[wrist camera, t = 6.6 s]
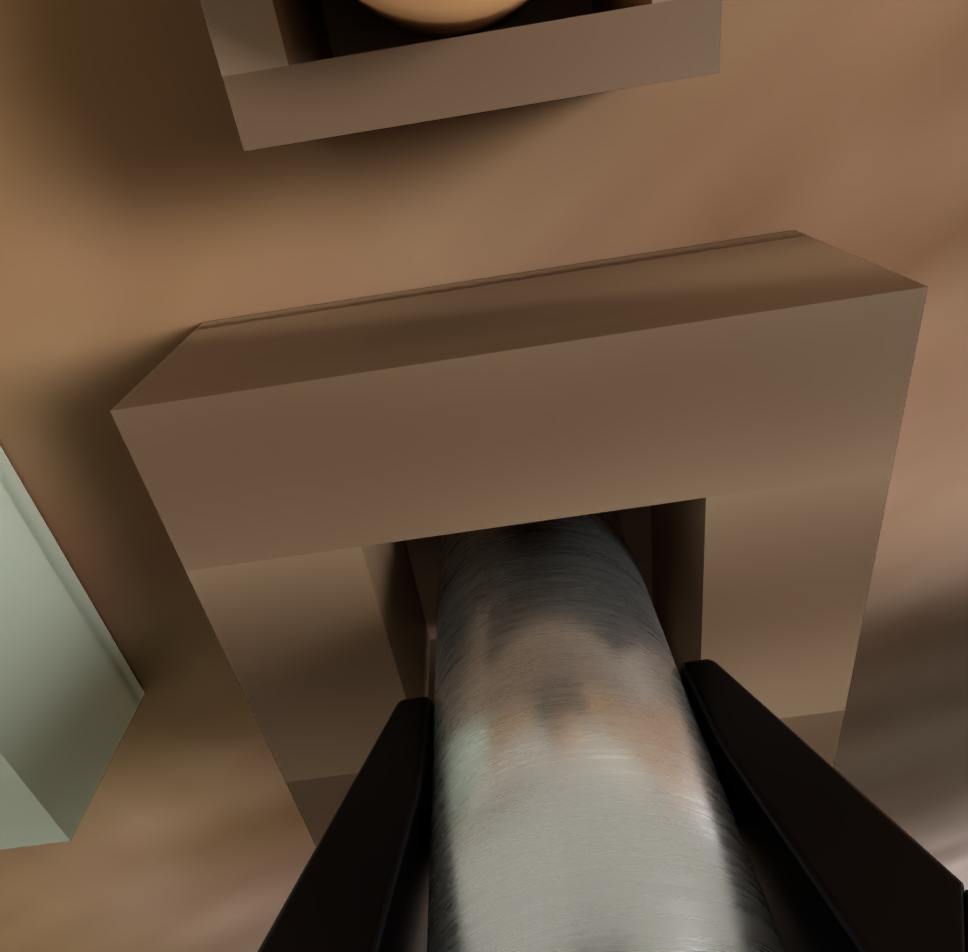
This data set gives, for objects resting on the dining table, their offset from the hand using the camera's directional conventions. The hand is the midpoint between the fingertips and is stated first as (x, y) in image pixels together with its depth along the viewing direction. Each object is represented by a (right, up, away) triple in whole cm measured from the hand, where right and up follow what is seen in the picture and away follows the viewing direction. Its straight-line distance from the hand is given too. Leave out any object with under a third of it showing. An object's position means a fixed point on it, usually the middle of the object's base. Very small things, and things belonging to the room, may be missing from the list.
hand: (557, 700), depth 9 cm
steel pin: (0, +2, +3) cm, 4 cm away
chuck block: (0, +2, +4) cm, 4 cm away
